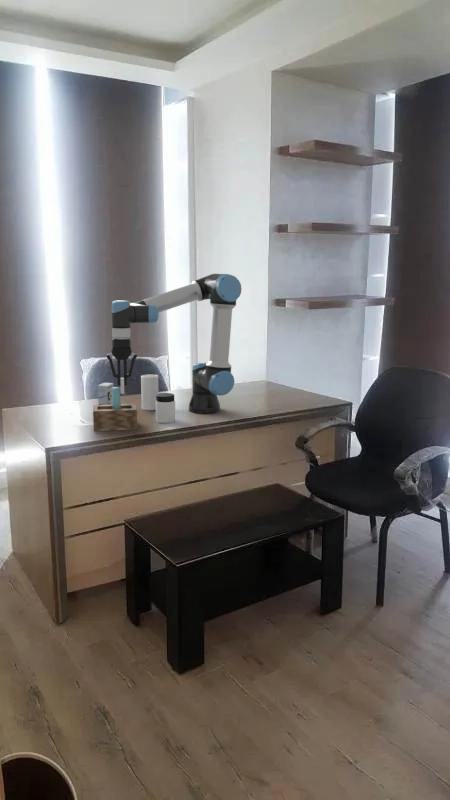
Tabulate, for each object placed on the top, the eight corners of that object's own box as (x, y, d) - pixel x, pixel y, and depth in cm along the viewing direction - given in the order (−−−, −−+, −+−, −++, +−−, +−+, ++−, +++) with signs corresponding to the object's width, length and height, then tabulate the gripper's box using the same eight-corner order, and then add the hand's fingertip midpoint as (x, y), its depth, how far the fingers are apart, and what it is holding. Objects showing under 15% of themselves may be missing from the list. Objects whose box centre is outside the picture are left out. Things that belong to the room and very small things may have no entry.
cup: (161, 407, 300) (161, 375, 297) (152, 410, 293) (152, 377, 290) (147, 405, 304) (146, 373, 300) (138, 409, 296) (137, 376, 293)
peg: (122, 423, 265) (121, 387, 261) (118, 425, 262) (117, 389, 258) (115, 422, 266) (114, 386, 262) (111, 424, 263) (110, 388, 259)
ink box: (107, 410, 294) (107, 385, 291) (98, 409, 294) (97, 385, 292) (114, 406, 302) (113, 382, 299) (105, 405, 303) (104, 382, 300)
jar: (166, 417, 281) (165, 391, 278) (178, 420, 276) (178, 394, 273) (151, 421, 274) (151, 394, 271) (164, 424, 269) (164, 397, 266)
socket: (135, 422, 271) (135, 403, 270) (137, 429, 260) (136, 409, 258) (93, 423, 268) (93, 404, 266) (93, 431, 256) (93, 411, 254)
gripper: (136, 336, 261) (137, 391, 266) (105, 337, 259) (106, 391, 264) (137, 338, 254) (138, 394, 259) (105, 339, 251) (107, 395, 256)
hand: (122, 393), depth 261 cm, fingers closed
